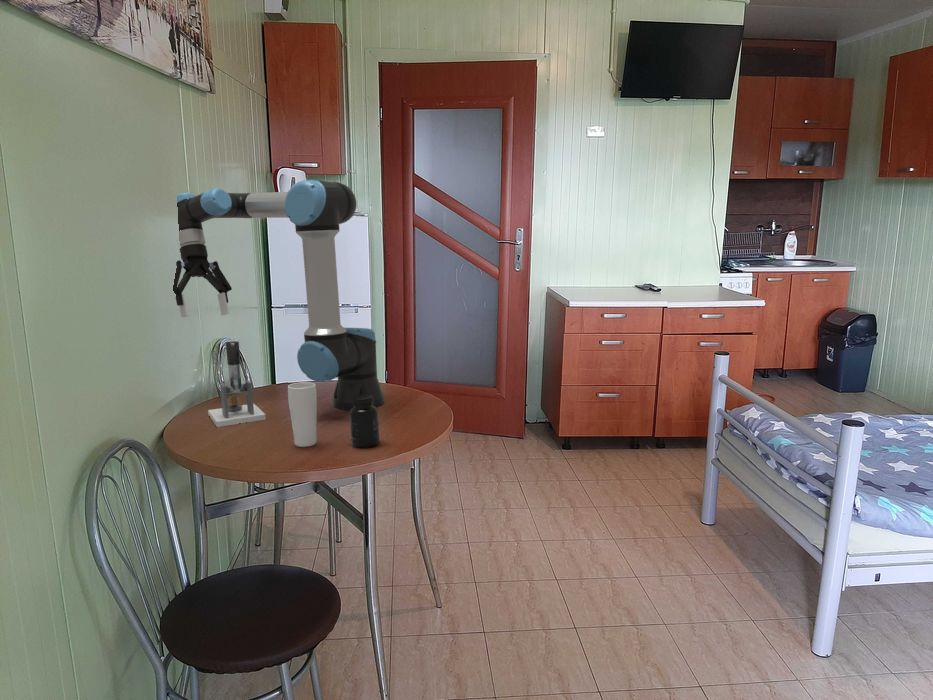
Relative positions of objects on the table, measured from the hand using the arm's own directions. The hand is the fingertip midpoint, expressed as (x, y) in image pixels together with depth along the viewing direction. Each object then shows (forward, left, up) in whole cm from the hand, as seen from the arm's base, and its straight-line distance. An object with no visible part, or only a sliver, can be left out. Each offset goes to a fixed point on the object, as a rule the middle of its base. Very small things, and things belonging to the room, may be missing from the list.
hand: (205, 315), depth 204 cm
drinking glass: (-51, +24, -27) cm, 62 cm away
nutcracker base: (-17, +10, -27) cm, 34 cm away
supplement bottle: (-65, +19, -27) cm, 73 cm away
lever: (-17, +10, -19) cm, 28 cm away
